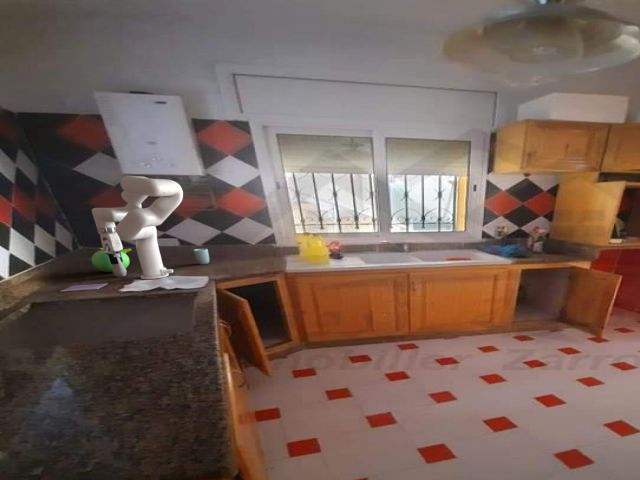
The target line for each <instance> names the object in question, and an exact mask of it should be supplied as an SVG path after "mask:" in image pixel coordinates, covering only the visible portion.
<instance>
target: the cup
mask: <svg viewBox="0 0 640 480" xmlns="http://www.w3.org/2000/svg"><path fill="white" fill-rule="evenodd" d="M193 255H194V258H195V259H194V260H195V261H196V263H197V265H201V266H203V265H208V264H209V263H210V253H209V250H208V248H195V249H193Z"/></svg>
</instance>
